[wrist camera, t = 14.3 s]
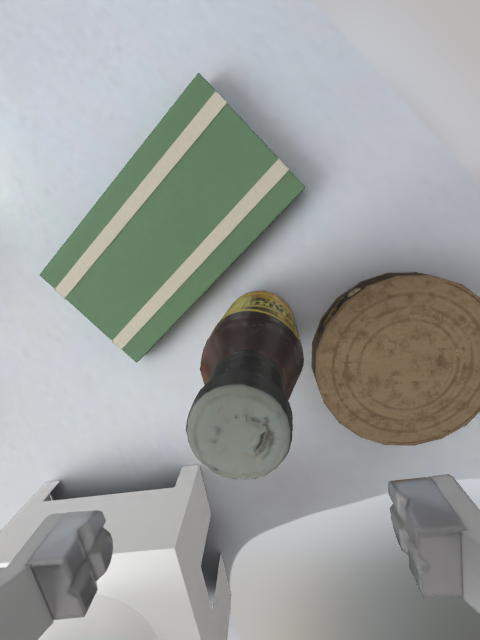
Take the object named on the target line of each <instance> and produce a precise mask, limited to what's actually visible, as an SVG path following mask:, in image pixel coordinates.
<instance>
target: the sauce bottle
mask: <svg viewBox="0 0 480 640" xmlns="http://www.w3.org/2000/svg"><path fill="white" fill-rule="evenodd" d="M303 361H304V357H303V350H302V346H301V342H300V339H299V335H298V331H297V327H296V325H295V322H294V318H293V315H292V312H291V310H290V308H289V307H288V305H287V304H286V303H285V302H284V301H283V300H282V299H281V298H280V297H278V296H277V295H275V294H273V293H270V292H266V291H254V292H249V293H247V294H245V295H243V296H241V297H240V298H238V299H237V300H236V301H235V302H234V303H233V304H232V306H231V307H230V308H229V310H228V311H227V313H226V314H225V315H224V317H223V318H222V319H221V320H220V322H219V323H218V324H217V326H216V327H215V328H214V330H213V332H212V334H211V336H210V337H209V339H208V340H207V342H206V345H205V347H204V349H203V354H202V359H201V367H200V371H201V374H202V377H203V381H204V384H205V386H204V387H203V388H202V389H201V390H200V391H199V393H198V395H197V396H196V398H195V400H194V402H193V405H192V407H191V410H190V412H189V415H188V419H187V426H186V432H187V435H188V442H189V444H190V447H191V449H192V451H193V453H194V455H195V456H196V457H197V459H198V460H199V461H201V462H202V463H203V464H204V465H206V466H207V467H208V468H209V469H210V470H211V471H212V472H214V473H216V474H218V475H220V476H223V477H226V478H230V479H255V478H258V477H261V476H264V475H266V474H267V473H269V472H270V471H272V470H274V469H276V468H277V467H278V465H279V464H280V463H281V462H282V461H283V460H284V459H285V457H286V455H287V454H288V452H289V449H290V445H291V441H292V430H293V428H292V426H293V425H292V411H291V408H290V403H289V402H288V400H289V397H290V395H291V393H292V391H293V388H294V386H295V384H296V382H297V380H298V377H299V375H300V373H301V371H302V367H303Z"/></svg>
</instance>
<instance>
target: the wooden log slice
mask: <svg viewBox="0 0 480 640" xmlns="http://www.w3.org/2000/svg"><path fill="white" fill-rule="evenodd" d="M312 369H313V373H314V376H315V379H316V382H317V385H318V388H319V391H320V393H321V396H322V399H323V401H324V404H325V405H326V406H327V407H328V409H329V410H330V411H331V413H332V414H333V415H334V417H335V418H336V419H337V420H338V422H339V423H340V424H342V425H343V426H345V427H346V428H348V429H349V430H351V431H352V432H354V433H355V434H357V435H358V436H360V437H362V438H365V439H368V440H372V441H375V442H378V443H381V444H385V445H418V444H422V443H426V442H430V441H434V440H438V439H442V438H443V437H445V436H447V435H449V434H451V433H452V432H454V431H456V430H458V429H460V428H461V427H463V426H465V425H467V424H468V423H469V422H470V421H471V420H472V419H473V418H474V417H475V416H476V415H477V414H478V413H479V412H480V297H478V296H477V295H476V294H474V293H473V292H471V291H470V290H469V289H467V288H466V287H465V286H463V285H462V284H458V283H455V282H452V281H449V280H445V279H442V278H439V277H435V276H432V275H427V274H422V273H417V272H409V273H386V274H383V275H380V276H377V277H374V278H371V279H368V280H365V281H362V282H360V283H358V284H357V285H355V286H354V287H352V288H351V289H350V290H348V291H347V292H345V293H344V294H342V295H341V296H339V297H338V298H337V299H336V300H335V302H334V303H333V304H332V305H331V307H330V308H329V309H328V311H327V312H326V313H325V314H324V316H323V317H322V318H321V320H320V323H319V326H318V328H317V331H316V334H315V336H314V339H313V342H312Z"/></svg>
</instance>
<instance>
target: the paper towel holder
mask: <svg viewBox="0 0 480 640" xmlns="http://www.w3.org/2000/svg"><path fill="white" fill-rule="evenodd" d="M58 483H59V481H53V482H45V483H44V484H43V485H42V486H41V487H40V488H39V490H38V491H37V492H36V493H35V494H34V495H33V496H32V497H31V498H30V499H29V500H28V502H27V503H26V504H25V505H24V506H23V507H22V508H21V509H20V510H19V511H18V513H17V514H16V515H15V516H14V517H13V518H12V519H11V520H10V521H9V522H8V524H7V525H6V526H5V527H4V528H3V529H2V530H1V531H0V568H4V567H7V566H8V565H9V563H10V562H11V561H12V560H13V558H14V557H15V556H16V555H17V553H18V552H19V551H20V550H21V548H22V547H23V546H24V544H25V543H26V542H27V541H28V539H29V538H30V537H31V536H32V534H33V533H34V532H35V531H36V529H37V528H38V527H39V526H40V524H41V523H42V522H43V521H44V519H45V518H46V517H48V516H49V515H51V514H58V513H67V512H80V511H94V510H98V511H102V512H103V515H104V517H105V520H106V522H105V524H104V527H103V528H105V529H106V530H107V531H108V532H109V533H110V534H111V537H112V540H113V553H112V558H111V562H110V564H109V567H108V569H107V571H106V573H105V574H104V575H103V576H101V577H100V578H99V579H98V580H97V588H98V590H97V592H96V594H95V596H94V598H93V600H92V602H91V605H90V607H89V609H88V611H87V613H86V615H85V617H81V618H70V619H60V620H53V621H54V622H53V624H52V625H51V626H50V627H49V628H48V629H47V630H46V631H45V632H44V633H43V635H42V636H41V637H40V638H39V639H38V640H227V635H228V624H229V614H230V603H231V591H230V587H229V583H228V579H227V575H226V571H225V567H224V563H223V559H222V555H221V554H220V561H219V569H218V576H217V583H216V590H215V597H214V604H213V610H212V607H211V603H210V599H209V596H208V592H207V588H206V584H205V581H204V577H203V573H202V569H201V563H202V558H203V553H204V547H205V542H206V537H207V532H208V527H209V522H210V517H211V511H210V507H209V503H208V499H207V495H206V491H205V487H204V483H203V479H202V475H201V471H200V466H199V465H191V466H182V468H181V471H180V474H179V476H178V479H177V482H176V485H175V487H173V488H164V489H155V490H146V491H136V492H127V493H118V494H109V495H99V496H90V497H81V498H72V499H62V500H53V501H52V500H51V497H50V494H49V493H50V492H51V491H52V490H53V488H54V487H55V486H56V485H57V484H58Z"/></svg>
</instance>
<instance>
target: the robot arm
mask: <svg viewBox="0 0 480 640" xmlns="http://www.w3.org/2000/svg"><path fill="white" fill-rule="evenodd" d="M388 491H389V496H390V498H391V500H392V502H393V505H392V506H391V508H390V512H391V519H392V523H393V528H394V531H395V534H396V537H397V540H398V542H399V545H400V547H401V549H402V551H404V552H405V553H406V554H407V555H409V565H410V570H411V572H412V574H413V576H414V579H415V581H416V583H417V585H418V588H419V590H420V592H421V594H422V596H423V598H426V597H427V598H428V597H463V599H464V600H465V601H466V602H467V603H468V604H470V605H471V606H472V607H473V608H474V609H475V610H476V611H477V612H478V613H480V510H479V509H478V507H477V506H476V505H475V504H474V503H473V501H472V500H471V499H470V498H469V496H468V495H467V494H466V492H465V491H464V490H463V489H462V488H461V486H460V485H459V484H458V482H457V481H456V480H455V479H454V478H453V477H452V476H451V475H449V474H447V475H438V476H430V477H423V478H414V479H405V480H395V481H389V483H388ZM105 522H106V520H105V517H104V515H103V512H102V511H98V510H94V511H80V512H67V513H58V514H51V515H49V516H48V517H46V518H45V519H44V521H43V522H42V523H41V524H40V526H39V527H38V528H37V529H36V531H35V532H34V533H33V534H32V536H31V537H30V538H29V539H28V541H27V542H26V543H25V544H24V546H23V547H22V548H21V550H20V551H19V552H18V553H17V555H16V556H15V557H14V558H13V560H12V561H11V562H10V563H9V565H8V566H7V567H4V568H0V640H38V639H39V638H40V637H41V636H42V635H43V633H44V632H45V631H46V630H47V629H48V628H49V627H50V626H51V625H52V624H53V622H54V621H53V620H60V619H70V618H81V617H85V615H86V613H87V611H88V609H89V607H90V605H91V602H92V600H93V598H94V596H95V594H96V592H97V590H98V588H97V580H98V579H99V578H100V577H101V576H103V575H104V574H105V573H106V571H107V569H108V567H109V564H110V562H111V558H112V553H113V540H112V537H111V534H110V533H109V532H108V531H107V530H106V529H105V528H103V527H104V524H105Z"/></svg>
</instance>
